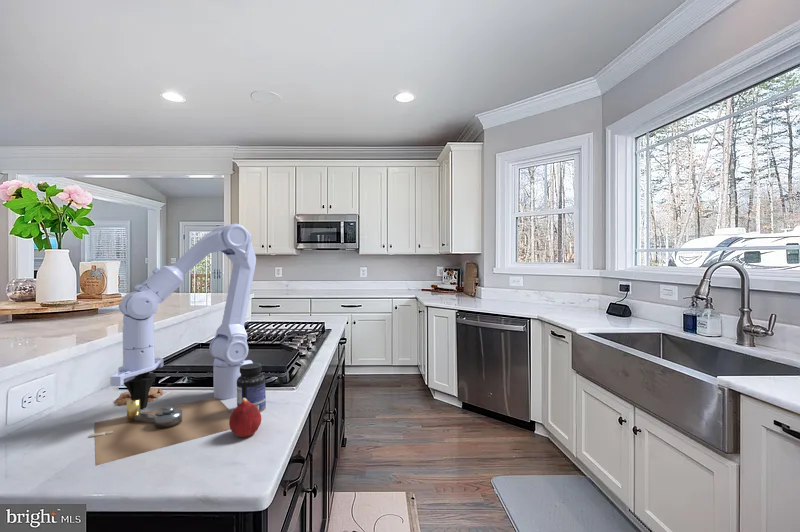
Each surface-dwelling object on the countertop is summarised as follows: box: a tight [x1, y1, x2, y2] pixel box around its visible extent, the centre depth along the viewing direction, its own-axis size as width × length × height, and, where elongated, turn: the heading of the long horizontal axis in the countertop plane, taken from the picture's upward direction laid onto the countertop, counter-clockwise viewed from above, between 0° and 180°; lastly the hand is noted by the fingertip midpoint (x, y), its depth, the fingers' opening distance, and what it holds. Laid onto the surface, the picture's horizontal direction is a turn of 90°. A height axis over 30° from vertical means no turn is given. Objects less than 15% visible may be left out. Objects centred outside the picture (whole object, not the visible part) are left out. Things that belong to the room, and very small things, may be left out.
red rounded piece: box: [229, 398, 262, 438], centre depth 75 cm, size 6×6×8 cm
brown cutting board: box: [88, 396, 233, 466], centre depth 80 cm, size 25×22×1 cm
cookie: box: [113, 387, 164, 407], centre depth 96 cm, size 10×11×3 cm
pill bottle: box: [236, 362, 267, 413], centre depth 88 cm, size 6×6×11 cm
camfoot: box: [126, 398, 182, 428], centre depth 81 cm, size 13×5×4 cm, turn 76°
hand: (139, 408), depth 84 cm, fingers closed, pressing on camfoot
